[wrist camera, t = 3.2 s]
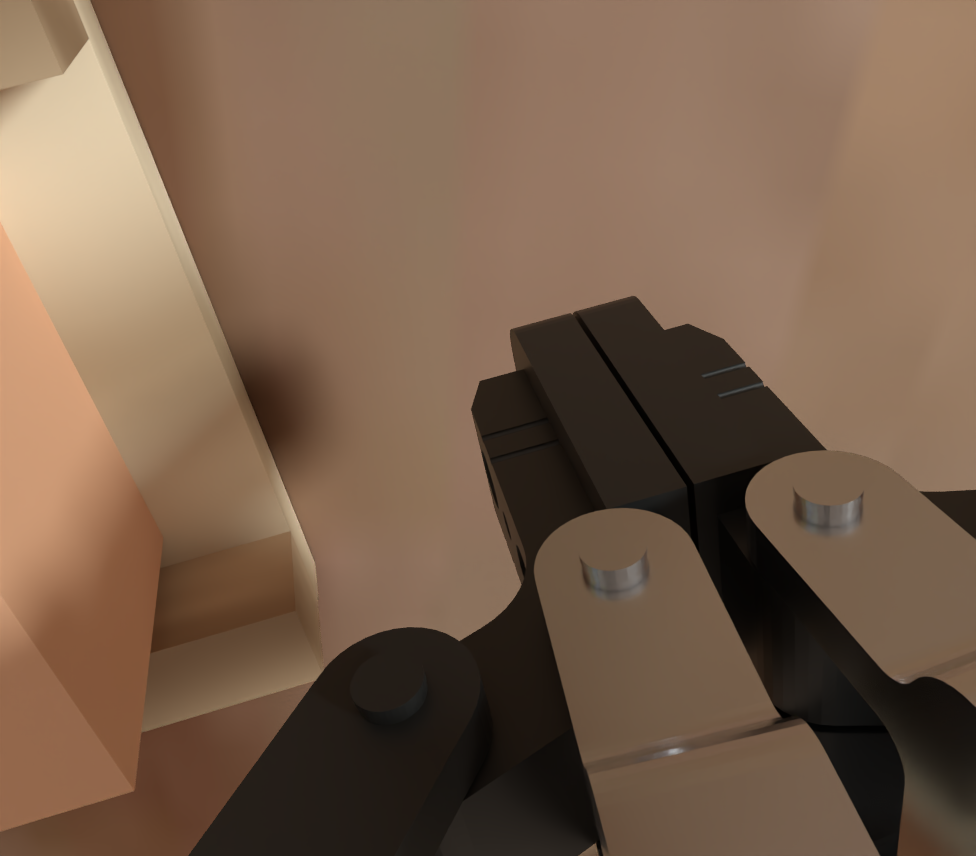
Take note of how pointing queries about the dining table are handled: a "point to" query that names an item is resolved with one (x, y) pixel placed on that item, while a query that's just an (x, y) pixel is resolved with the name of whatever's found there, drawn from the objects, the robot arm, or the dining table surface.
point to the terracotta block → (65, 577)
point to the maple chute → (152, 368)
